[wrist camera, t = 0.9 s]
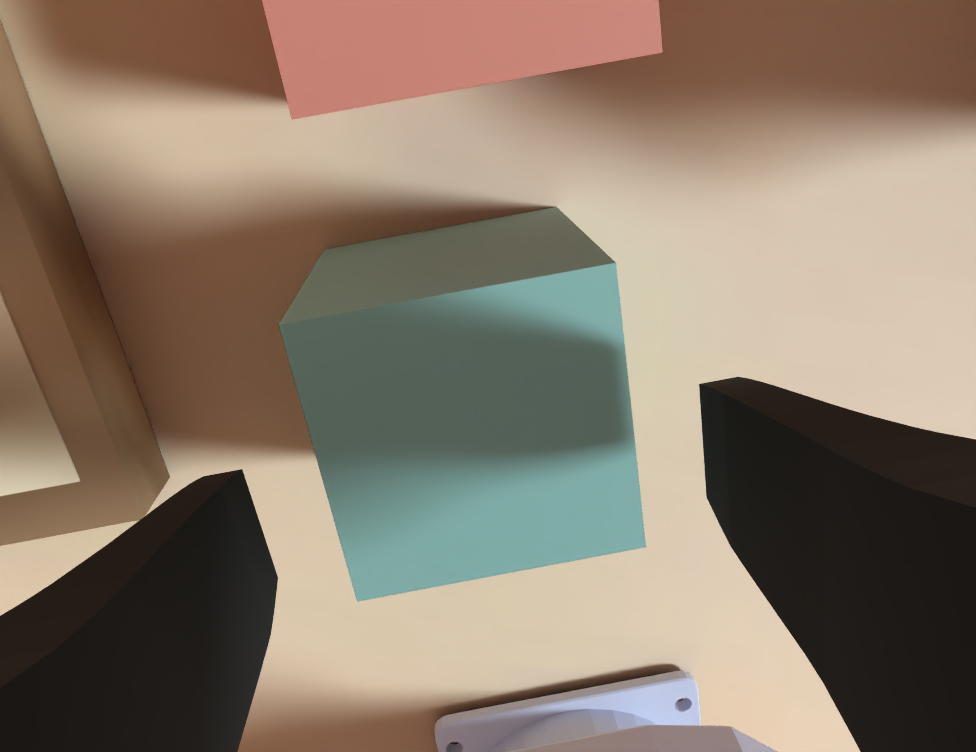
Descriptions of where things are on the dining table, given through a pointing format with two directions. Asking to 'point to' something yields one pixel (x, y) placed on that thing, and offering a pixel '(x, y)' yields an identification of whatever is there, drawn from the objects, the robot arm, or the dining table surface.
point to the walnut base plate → (59, 356)
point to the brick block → (443, 44)
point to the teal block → (468, 401)
